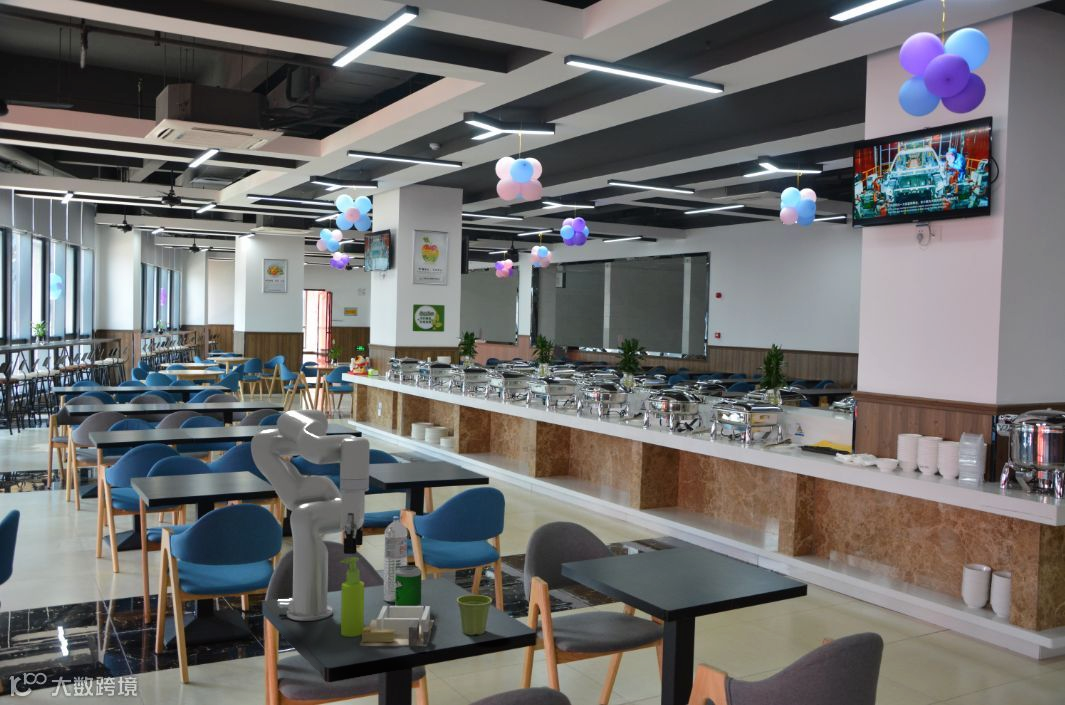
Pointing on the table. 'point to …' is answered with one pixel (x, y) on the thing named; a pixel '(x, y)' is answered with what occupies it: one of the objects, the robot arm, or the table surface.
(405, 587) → the soda can
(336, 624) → the table surface
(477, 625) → the plant pot
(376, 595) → the table surface
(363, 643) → the base board
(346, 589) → the soap dispenser
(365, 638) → the tan rectangular block
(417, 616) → the dock
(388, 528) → the water bottle
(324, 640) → the table surface
